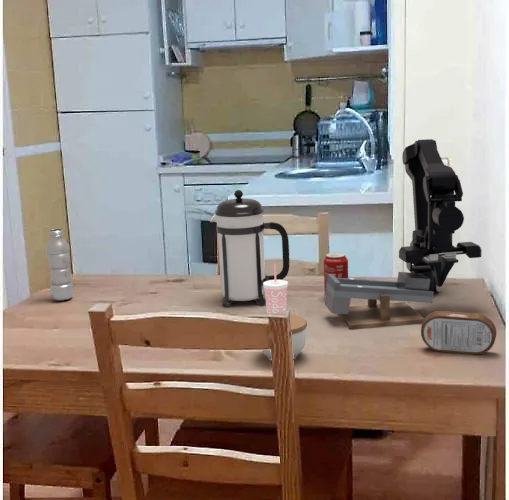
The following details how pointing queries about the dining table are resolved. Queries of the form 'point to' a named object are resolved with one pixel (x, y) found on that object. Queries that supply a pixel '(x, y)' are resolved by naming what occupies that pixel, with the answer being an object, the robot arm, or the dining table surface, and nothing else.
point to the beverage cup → (276, 294)
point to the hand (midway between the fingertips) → (439, 286)
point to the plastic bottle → (59, 266)
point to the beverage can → (335, 266)
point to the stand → (380, 314)
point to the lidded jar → (295, 335)
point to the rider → (413, 281)
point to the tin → (458, 332)
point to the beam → (367, 292)
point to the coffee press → (244, 249)
